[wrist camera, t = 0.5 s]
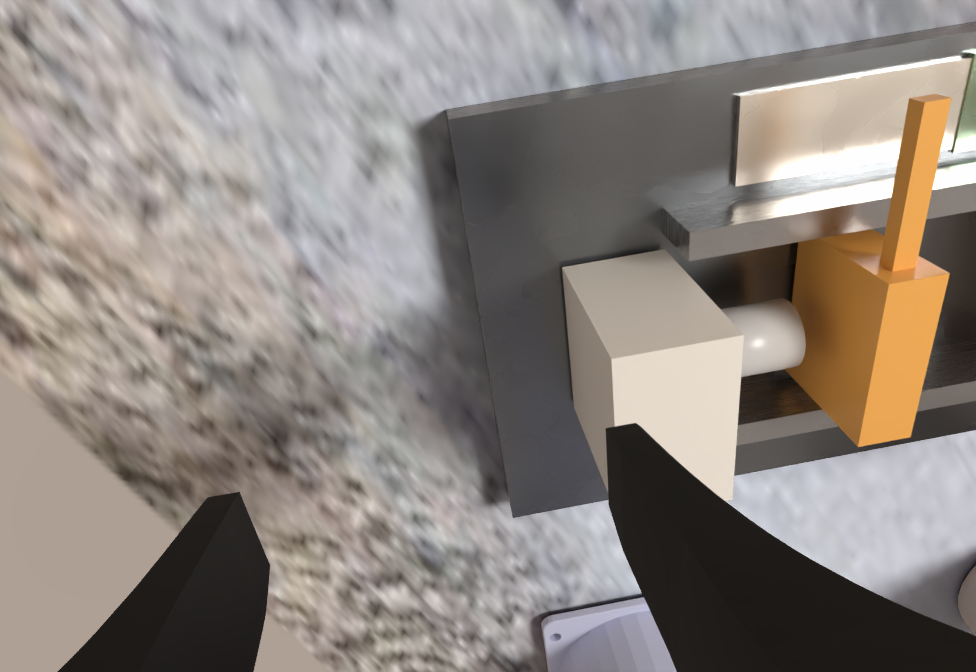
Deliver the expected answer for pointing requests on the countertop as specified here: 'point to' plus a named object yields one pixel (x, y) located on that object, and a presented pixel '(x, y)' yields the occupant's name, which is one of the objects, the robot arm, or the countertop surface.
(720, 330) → the cream block with peg
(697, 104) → the base
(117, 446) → the countertop surface
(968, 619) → the coffee cup
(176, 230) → the countertop surface
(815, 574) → the robot arm
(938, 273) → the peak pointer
